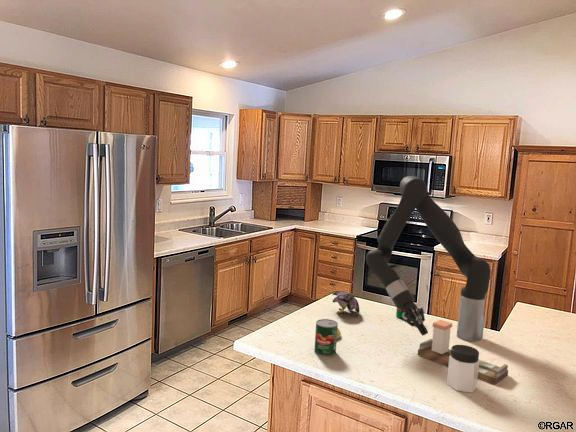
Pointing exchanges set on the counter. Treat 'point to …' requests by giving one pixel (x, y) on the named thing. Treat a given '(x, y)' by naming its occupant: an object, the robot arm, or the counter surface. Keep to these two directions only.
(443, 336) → the fader knob
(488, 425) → the counter surface
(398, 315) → the soda can
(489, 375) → the fader console
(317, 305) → the counter surface
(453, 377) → the jar
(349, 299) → the bird figurine
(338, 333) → the bread roll
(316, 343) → the canned tomato
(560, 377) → the counter surface
